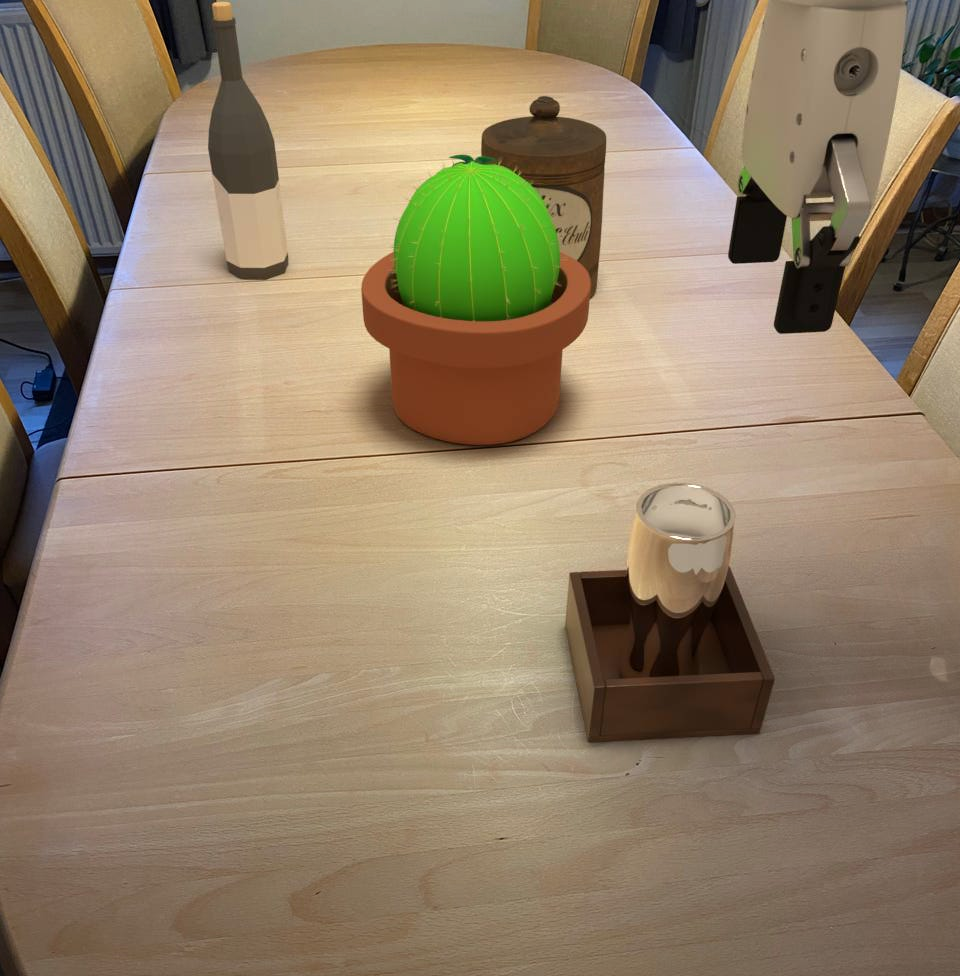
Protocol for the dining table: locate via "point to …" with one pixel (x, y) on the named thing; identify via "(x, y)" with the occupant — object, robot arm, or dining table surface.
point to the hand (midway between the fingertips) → (775, 293)
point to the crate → (672, 699)
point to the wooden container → (558, 173)
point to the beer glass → (674, 577)
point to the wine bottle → (244, 166)
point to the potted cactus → (476, 306)
